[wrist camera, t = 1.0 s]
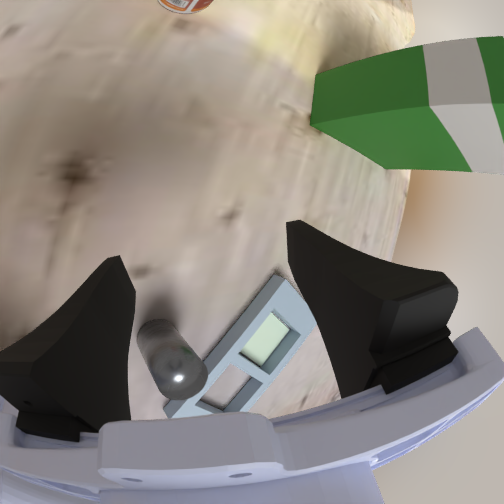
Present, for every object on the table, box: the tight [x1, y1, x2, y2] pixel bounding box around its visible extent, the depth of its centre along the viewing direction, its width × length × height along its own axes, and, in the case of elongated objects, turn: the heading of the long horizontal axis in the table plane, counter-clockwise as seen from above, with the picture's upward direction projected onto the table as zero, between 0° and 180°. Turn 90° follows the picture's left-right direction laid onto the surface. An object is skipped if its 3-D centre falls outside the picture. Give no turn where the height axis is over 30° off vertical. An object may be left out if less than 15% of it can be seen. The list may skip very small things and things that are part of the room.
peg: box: [137, 319, 208, 400], centre depth 21 cm, size 4×4×7 cm
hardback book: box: [310, 36, 504, 175], centre depth 25 cm, size 18×7×24 cm, turn 79°
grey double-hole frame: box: [163, 275, 317, 419], centre depth 29 cm, size 19×8×2 cm, turn 133°
